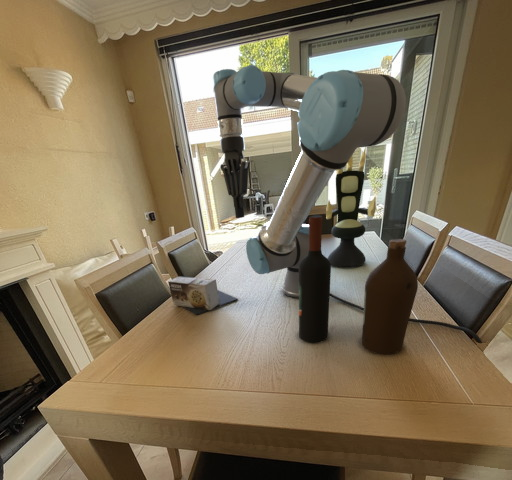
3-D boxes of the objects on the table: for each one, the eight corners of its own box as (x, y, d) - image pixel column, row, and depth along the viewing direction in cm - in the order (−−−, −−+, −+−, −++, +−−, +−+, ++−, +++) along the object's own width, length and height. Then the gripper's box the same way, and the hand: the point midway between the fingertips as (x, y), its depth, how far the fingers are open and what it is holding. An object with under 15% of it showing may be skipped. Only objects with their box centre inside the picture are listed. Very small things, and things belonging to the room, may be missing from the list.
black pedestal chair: (324, 270, 126) (328, 146, 104) (322, 256, 145) (326, 149, 122) (369, 268, 123) (384, 140, 100) (362, 255, 141) (373, 144, 119)
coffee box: (216, 278, 98) (179, 275, 104) (205, 285, 93) (167, 281, 100) (220, 303, 102) (184, 298, 109) (209, 311, 97) (173, 305, 104)
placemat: (237, 299, 105) (237, 298, 105) (196, 315, 96) (196, 314, 96) (217, 291, 115) (217, 289, 114) (178, 304, 106) (177, 303, 106)
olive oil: (410, 341, 72) (433, 236, 59) (396, 361, 65) (418, 248, 53) (368, 330, 78) (381, 233, 66) (351, 347, 72) (361, 244, 59)
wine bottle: (310, 346, 74) (312, 220, 59) (293, 334, 80) (291, 217, 65) (333, 337, 77) (341, 215, 62) (315, 326, 83) (318, 212, 68)
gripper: (210, 140, 94) (221, 218, 106) (234, 133, 85) (243, 220, 97) (228, 139, 98) (237, 215, 110) (254, 133, 89) (260, 216, 101)
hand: (240, 217), depth 103 cm, fingers closed
